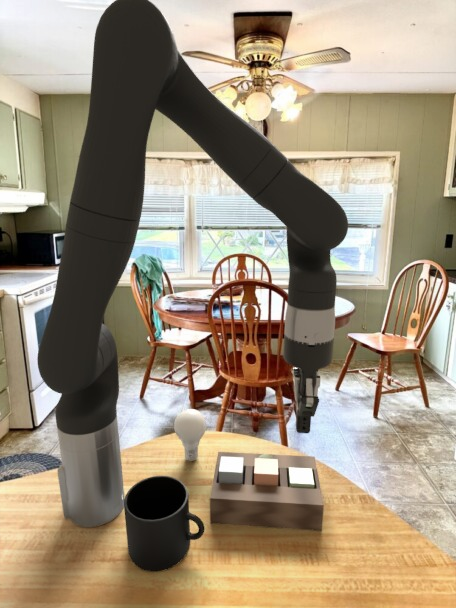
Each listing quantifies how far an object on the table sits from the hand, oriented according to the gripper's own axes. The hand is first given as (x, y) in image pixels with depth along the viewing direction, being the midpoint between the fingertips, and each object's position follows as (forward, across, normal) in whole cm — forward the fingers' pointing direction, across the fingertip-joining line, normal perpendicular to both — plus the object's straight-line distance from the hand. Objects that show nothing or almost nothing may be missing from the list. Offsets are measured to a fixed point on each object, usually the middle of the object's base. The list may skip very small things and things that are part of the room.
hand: (302, 430), depth 67 cm
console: (+14, 0, -6) cm, 15 cm away
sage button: (+13, 0, 0) cm, 13 cm away
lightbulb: (+15, -10, -21) cm, 27 cm away
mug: (+15, +11, -21) cm, 28 cm away
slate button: (+12, 0, -12) cm, 17 cm away
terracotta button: (+12, 0, -6) cm, 13 cm away
